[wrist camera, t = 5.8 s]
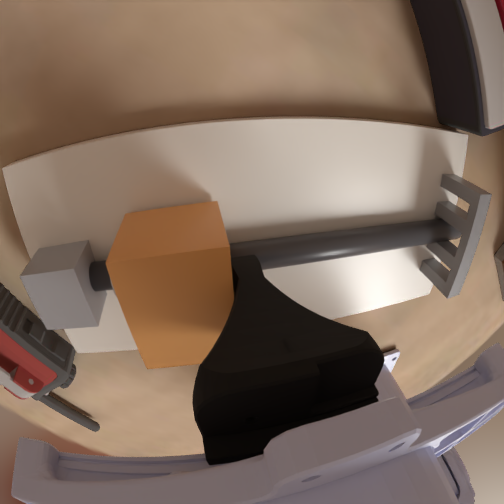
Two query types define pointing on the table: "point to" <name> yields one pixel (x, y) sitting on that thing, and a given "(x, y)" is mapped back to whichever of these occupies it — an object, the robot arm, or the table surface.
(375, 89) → the table surface
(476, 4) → the calculator
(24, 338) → the walkie-talkie
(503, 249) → the white box tower
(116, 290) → the orange block
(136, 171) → the board
